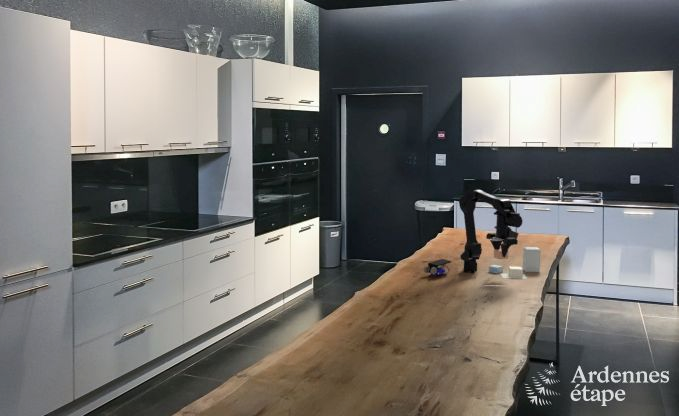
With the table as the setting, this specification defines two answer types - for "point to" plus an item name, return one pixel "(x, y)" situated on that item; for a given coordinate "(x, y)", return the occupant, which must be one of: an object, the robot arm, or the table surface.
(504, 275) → the baseplate
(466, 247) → the robot arm
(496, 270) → the blue brick
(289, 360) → the table surface
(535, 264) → the supplement box
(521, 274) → the base brick
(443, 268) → the figurine character
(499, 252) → the terracotta brick
